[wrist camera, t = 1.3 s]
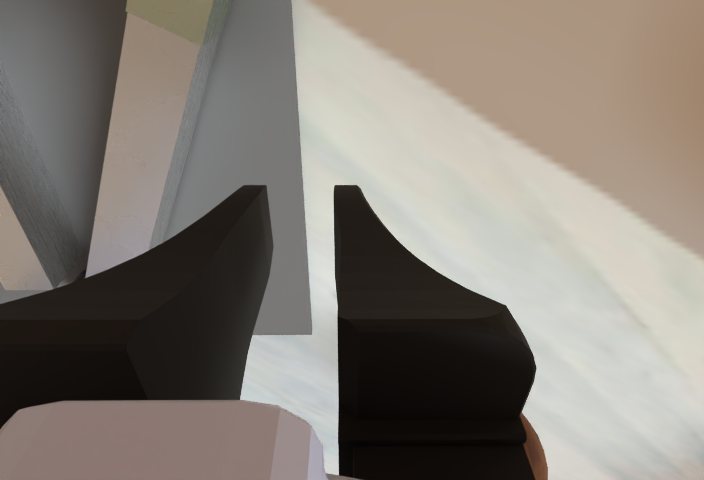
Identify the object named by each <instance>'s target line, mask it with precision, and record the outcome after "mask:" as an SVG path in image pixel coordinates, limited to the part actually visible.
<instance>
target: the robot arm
mask: <svg viewBox="0 0 704 480" xmlns="http://www.w3.org/2000/svg"><path fill="white" fill-rule="evenodd" d="M334 241H335V280H336V291H337V302H338V383H339V423H338V445H339V475H333V474H327V473H325V470H324V457H323V446H322V444H321V442H320V440H319V439H318V437H317V435H316V433H315V431H314V429H313V428H312V426H311V425H310V424H309V423H308V422H306V421H305V420H303V419H302V418H300V417H298V416H296V415H294V414H292V413H291V412H289V411H287V410H285V409H283V408H281V407H279V406H277V405H271V404H264V403H258V402H251V401H244V400H240V395H241V389H242V383H243V377H244V371H245V365H246V360H247V354H248V350H249V346H250V342H251V338H252V334H253V331H254V328H255V324H256V321H257V317H258V314H259V311H260V307H261V304H262V300H263V297H264V294H265V290H266V287H267V283H268V279H269V276H270V270H271V263H272V255H273V248H274V245H273V236H272V228H271V219H270V211H269V202H268V194H267V185H243V186H242V187H240V188H239V189H238V190H236V191H235V192H234V193H232V194H231V195H230V196H229V197H227V198H226V199H225V200H224V201H222V202H221V203H220V204H218V205H217V206H216V207H215V208H213V209H212V210H211V211H209V212H208V213H207V214H205V215H204V216H203V217H201V218H200V219H198V220H197V221H196V222H194V223H193V224H191V225H190V226H188V227H187V228H185V229H184V230H182V231H181V232H180V233H178V234H176V235H175V236H173V237H172V238H170V239H168V240H167V241H165V242H163V243H161V244H160V245H158V246H156V247H154V248H152V249H150V250H148V251H147V252H145V253H143V254H141V255H139V256H136V257H134V258H132V259H130V260H128V261H125V262H123V263H121V264H119V265H116V266H114V267H112V268H110V269H107V270H105V271H103V272H100V273H98V274H95V275H92V276H90V277H87V278H84V279H82V280H79V281H76V282H73V283H70V284H67V285H64V286H61V287H58V288H55V289H52V290H49V291H45V292H42V293H38V294H35V295H31V296H27V297H24V298H20V299H17V300H13V301H9V302H6V303H2V304H0V480H536V479H535V476H534V474H533V471H532V468H531V465H530V462H529V459H528V457H527V454H526V451H525V448H524V445H523V443H525V442H526V440H527V434H526V431H525V428H524V425H523V423H522V420H521V417H520V415H521V412H522V410H523V407H524V405H525V402H526V400H527V397H528V395H529V392H530V390H531V387H532V385H533V382H534V378H535V373H536V365H535V361H534V356H533V354H532V351H531V349H530V347H529V345H528V343H527V340H526V338H525V336H524V335H523V333H522V331H521V329H520V327H519V326H518V324H517V322H516V321H515V319H514V318H513V316H512V315H511V313H510V311H509V310H508V308H507V306H506V305H503V304H501V303H499V302H496V301H494V300H492V299H489V298H487V297H485V296H482V295H480V294H478V293H475V292H473V291H471V290H469V289H467V288H465V287H463V286H461V285H459V284H457V283H456V282H454V281H452V280H450V279H448V278H447V277H445V276H443V275H442V274H440V273H438V272H437V271H435V270H434V269H432V268H431V267H429V266H428V265H427V264H425V263H424V262H422V261H421V260H419V259H418V258H417V257H416V256H414V255H413V254H412V253H411V252H410V251H408V250H407V249H406V248H405V247H404V246H403V245H402V244H401V243H400V242H399V241H398V240H397V239H396V238H395V237H394V236H393V235H392V234H391V233H390V232H389V231H388V229H387V228H386V227H385V226H384V225H383V223H382V222H381V221H380V219H379V218H378V217H377V215H376V214H375V213H374V211H373V210H372V208H371V207H370V205H369V204H368V202H367V200H366V199H365V197H364V195H363V193H362V191H361V189H360V188H359V187H358V186H357V185H335V187H334Z"/></svg>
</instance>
